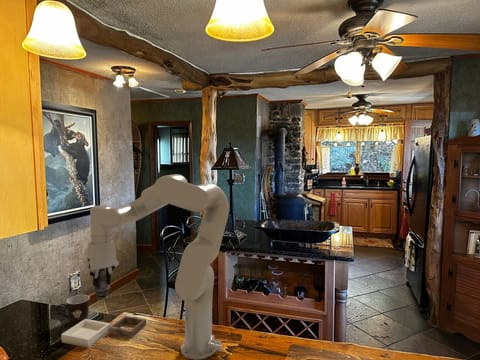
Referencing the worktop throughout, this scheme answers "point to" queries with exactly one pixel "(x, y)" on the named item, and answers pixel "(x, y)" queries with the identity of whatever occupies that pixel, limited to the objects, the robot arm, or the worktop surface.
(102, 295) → the salt shaker
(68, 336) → the tray
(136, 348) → the worktop surface
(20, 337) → the worktop surface
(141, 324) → the tray
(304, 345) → the worktop surface
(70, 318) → the coffee mug
